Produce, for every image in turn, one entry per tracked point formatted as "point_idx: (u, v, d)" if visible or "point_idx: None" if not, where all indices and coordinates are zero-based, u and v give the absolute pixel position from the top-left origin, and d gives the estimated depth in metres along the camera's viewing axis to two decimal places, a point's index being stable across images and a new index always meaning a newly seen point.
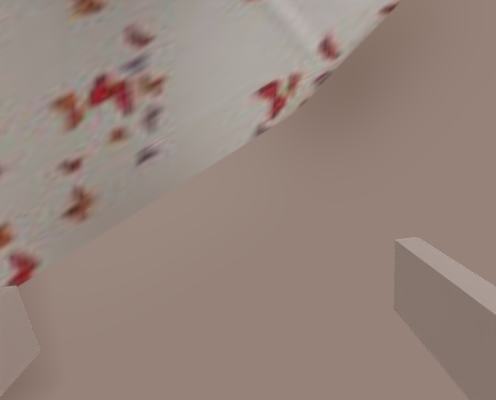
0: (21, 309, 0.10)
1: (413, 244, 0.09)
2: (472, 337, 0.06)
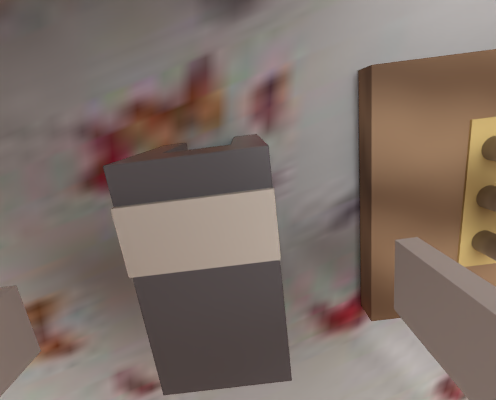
0: (21, 309, 0.10)
1: (413, 244, 0.09)
2: (472, 337, 0.06)
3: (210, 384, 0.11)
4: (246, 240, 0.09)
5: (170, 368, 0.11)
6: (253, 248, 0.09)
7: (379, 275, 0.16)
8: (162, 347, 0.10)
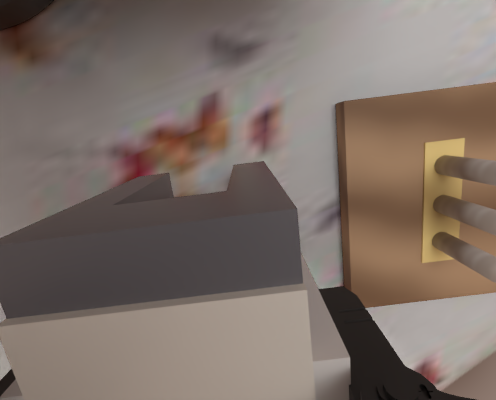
0: None
1: None
2: None
3: None
4: (252, 377, 0.05)
5: None
6: (266, 390, 0.05)
7: (357, 269, 0.19)
8: None
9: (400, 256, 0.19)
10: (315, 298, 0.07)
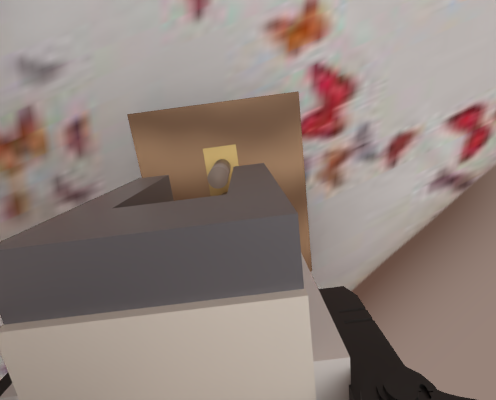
0: None
1: None
2: None
3: None
4: (253, 384, 0.05)
5: None
6: (267, 396, 0.05)
7: None
8: None
9: None
10: (315, 298, 0.07)
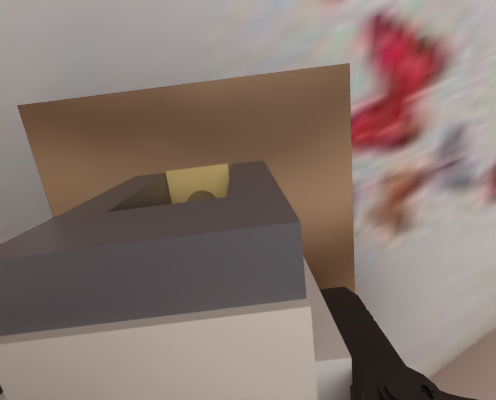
0: None
1: None
2: None
3: None
4: (254, 395, 0.05)
5: None
6: None
7: None
8: None
9: None
10: (316, 298, 0.07)
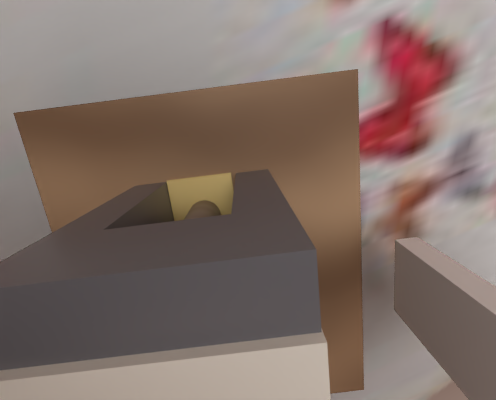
0: None
1: (413, 244, 0.09)
2: (472, 337, 0.06)
3: None
4: None
5: None
6: None
7: None
8: None
9: None
10: None
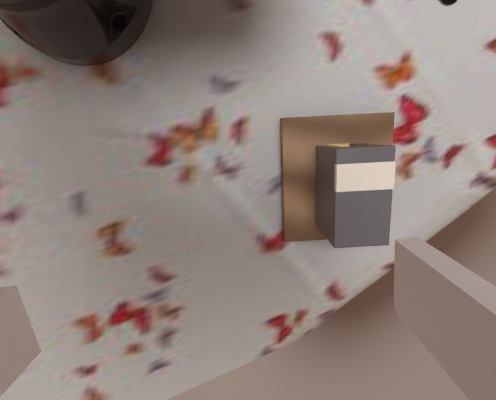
0: (21, 309, 0.10)
1: (413, 244, 0.09)
2: (472, 337, 0.06)
3: (354, 244, 0.26)
4: (382, 180, 0.24)
5: (340, 235, 0.26)
6: (384, 183, 0.24)
7: (288, 216, 0.32)
8: (339, 224, 0.25)
9: (313, 210, 0.32)
10: None
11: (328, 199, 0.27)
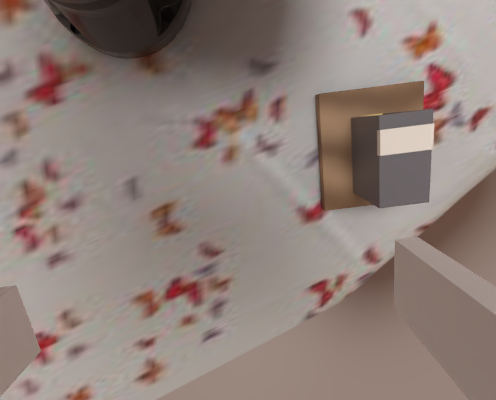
0: (21, 309, 0.10)
1: (413, 244, 0.09)
2: (472, 337, 0.06)
3: (398, 203, 0.28)
4: (422, 141, 0.27)
5: (384, 195, 0.28)
6: (424, 144, 0.27)
7: (327, 186, 0.35)
8: (383, 186, 0.28)
9: (351, 179, 0.35)
10: None
11: (370, 165, 0.29)
